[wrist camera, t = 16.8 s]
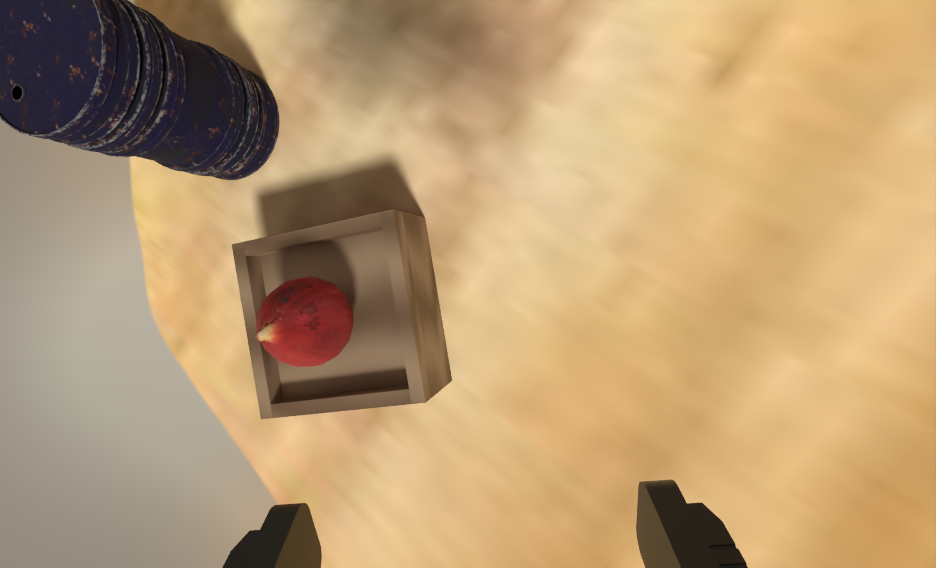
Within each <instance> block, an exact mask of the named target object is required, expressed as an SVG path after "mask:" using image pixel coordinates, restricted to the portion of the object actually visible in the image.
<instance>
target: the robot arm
mask: <svg viewBox="0 0 936 568" xmlns="http://www.w3.org/2000/svg"><path fill="white" fill-rule="evenodd" d="M636 530H637V539H638V545H639V549H640V553H641V556H642V559H643V562H644V565H645V568H747V566H746V562H745V560H744V558H743V557H742V555H741V553H740V551H739V550H738V548H736V546H735V543H734V541H733V539H732V538H731V536H730V534H729V532H728V531H727V529H726V527H725V525H724V524H723V522H722V521H721V520H720V519H719V518H718V517H717V516H716V515H715V514H714V513H712V512H711V511H710V510H709V509H708V508H707V507H706V506H705V505H704V504H703V503H690V504H687V503H686V501H685V499H684V497H683V495H682V493H681V491H680V489H679V487H678V486H677V484H676V483H675V481H673V480H660V481H645V482H640V483H639V488H638V506H637V525H636ZM223 568H321V546H320V542H319V539H318V536H317V533H316V529H315V526H314V523H313V519H312V516H311V513H310V509H309V507H308V505H307V504H306V503H299V504H284V505H274V506H273V507H272V508H271V509H270V511H269V513H268V515H267V517H266V519H265V521H264V523H263V525H262V527H261V529H260V530H253V531H249V532H248V534H246V535H245V536H244V538H243V539H242V540H241V541H240V542H239V543H238V544H237V545H236V546H235V547H234V548H233V550H232V551H231V552H230V554H229V556H228V558H227V560H226V562H225V564H224V566H223Z"/></svg>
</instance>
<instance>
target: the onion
mask: <svg viewBox="0 0 936 568" xmlns="http://www.w3.org/2000/svg"><path fill="white" fill-rule="evenodd" d="M353 325H354V321H353V310H352V308H351V306H350V303H349V301H348V299H347V297H346V296H345V295H344V294H343V293H342V292H341V291H340V290H339V289H338V288H337V287H336V286H335V284H334V283H332V282H329V281H326V280H323V279H320V278H316V277H310V276H309V277H304V278H299V279H293V280H289V281H286V282H284V283H283V284H281V285H280V286H279V287H277V288H276V289H275V290H273V291H272V292H271V293H270V294H269V295H268V296H267V297H266V298H265V300H264V302H263V303H262V305H261V307H260V309H259V311H258V315H257V322H256V327H257V333H256V335H255V336H256V338H257V340H259V341H260V342H261V344H262V345H263V347H264V349H265V350H266V351H267V352H268V353H269V354H271V355H272V356H273V357H274V358H275V359H277V360H278V361H280V362H283V363H286V364H288V365H291V366H295V367H310V366H319V365H322V364H324V363H326V362H328V361H329V360H331V359H333V358H335V357H336V356H337V355H339V354H340V353H341V351H342V350H343V349H344V347H345V346H346V344H347V343H348V342H349V340H350V336H351V333H352V329H353Z"/></svg>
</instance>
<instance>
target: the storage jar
mask: <svg viewBox="0 0 936 568" xmlns="http://www.w3.org/2000/svg"><path fill="white" fill-rule="evenodd" d="M0 118H1V119H2V120H3V121H4V122H5V123H6V124H7V125H9V126H10V127H11V128H13V129H15V130H16V131H18V132H20V133H23V134H26V135H30V136H35V137H39V138H43V139H50V140H53V141H56V142H61V143H65V144H66V145H69V146H72V147H75V148H80V149H84V150H89V151H94V152H100V153H103V154H106V155H110V156H123V157H130V156H137V157H141V158H146V159H150V160H154V161H156V162H157V163H159V164H161V165H163V166H165V167H168V168H170V169H173V170H177V171H184V172H187V173H191V174H195V175H201V176H213V177H216V178H219V179H225V180H238V179H242V178H245V177H247V176H249V175H251V174H253V173H254V172H256V171H257V170H258V169H259V168H261V167H262V166H263V165H264V163H265V162H266V161H267V159H268V158H269V157H270V155H271V153H272V151H273V149H274V146H275V144H276V141H277V137H278V132H279V112H278V106H277V103H276V100H275V97H274V95H273V93H272V91H271V89H270V88H269V87H268V85H267V84H266V83H265V82H264V81H263V80H262V79H261V78H260V77H259V76H257V75H256V74H254V73H252V72H251V71H249V70H246V69H244V68H243V67H242V66H240V65H239V64H238V63H237V62H235V61H234V60H232V59H230V58H229V57H227V56H225V55H223V54H221V53H220V52H218V51H217V50H215V49H214V48H212V47H210V46H208V45H204V44H202V43H199V42H196V41H191V40H187V39H185V38H183V37H181V36H179V35H178V34H176V33H174V32H172V31H170V30H169V29H168V28H167V27H166V26H165V25H164V24H163V23H162V22H161V21H159V20H158V19H157V18H156V17H155V16H153V15H152V14H151V13H149V12H148V11H146V10H144V9H141V8H139V7H136V6H135V5H134V4H132V3H131V2H129V1H127V0H0Z"/></svg>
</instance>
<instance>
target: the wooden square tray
mask: <svg viewBox="0 0 936 568" xmlns="http://www.w3.org/2000/svg"><path fill="white" fill-rule="evenodd" d="M232 249H233V255H234V260H235V266H236V272H237V278H238V284H239V290H240V296H241V302H242V308H243V314H244V320H245V326H246V332H247V338H248V344H249V350H250V356H251V362H252V368H253V373H254V379H255V385H256V391H257V397H258V403H259V409H260V415H261V419H268V418H278V417H287V416H297V415H307V414H317V413H327V412H337V411H347V410H357V409H367V408H376V407H386V406H396V405H406V404H416V403H426V402H427V401H428V400H429V399H430V398H432V397H433V396H434V395H435V394H436V393H438V392H439V391H440V390H441V389H442V388H444V387H445V386H446V385H447V384H448V383H450V382H451V381H452V377H451V371H450V365H449V359H448V353H447V347H446V341H445V335H444V329H443V323H442V317H441V311H440V305H439V299H438V293H437V287H436V281H435V275H434V269H433V263H432V257H431V251H430V245H429V239H428V233H427V227H426V221H425V217H421V216H418V215H414V214H410V213H406V212H403V211H399V210H395V209H391V210H386V211H382V212H377V213H373V214H368V215H364V216H359V217H354V218H350V219H345V220H341V221H336V222H332V223H327V224H323V225H318V226H314V227H309V228H305V229H300V230H296V231H291V232H286V233H282V234H277V235H273V236H268V237H264V238H259V239H255V240H250V241H246V242H241V243H237V244H232ZM309 276H310V277H316V278H320V279H323V280H326V281H329V282H332V283H334V284H335V286H336V287H337V288H338V289H339V290H340V291H341V292H342V293H343V294H344V295H345V296H346V297H347V299H348V301H349V303H350V306H351V308H352V310H353V321H354V325H353V329H352V333H351V336H350V340H349V342H348V343H347V344H346V346H345V347H344V349H343V350H342V351H341V353H340V354H339V355H337V356H336V357H335V358H333V359H331V360H329V361H328V362H326V363H324V364H322V365H319V366H310V367H295V366H291V365H288V364H286V363H283V362H280V361H278V360H277V359H275V358H274V357H273V356H272V355H271V354H269V353H268V352H267V351H266V350H265V349H264V347H263V345H262V344H261V342H260V341H259V340H257V338H256V336H255V335H256V333H257V327H256V322H257V315H258V311H259V309H260V307H261V305H262V303H263V302H264V300H265V298H266V297H267V296H268V295H269V294H270V293H271V292H272V291H273V290H275V289H276V288H277V287H279V286H280V285H281V284H283V283H284V282H286V281H289V280H293V279H299V278H304V277H309Z"/></svg>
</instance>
